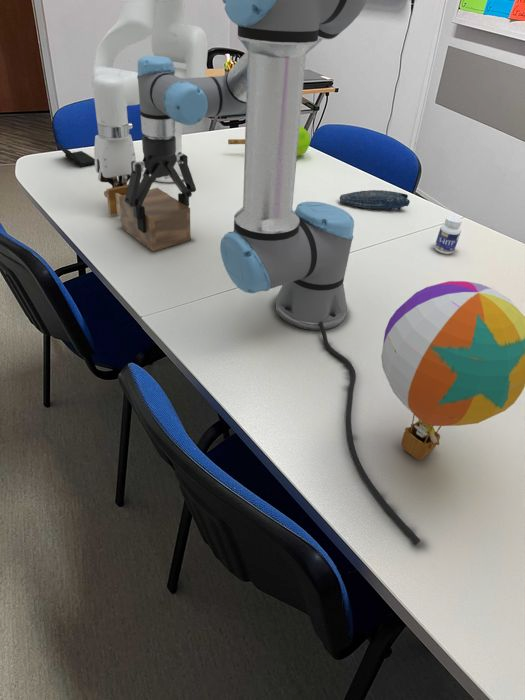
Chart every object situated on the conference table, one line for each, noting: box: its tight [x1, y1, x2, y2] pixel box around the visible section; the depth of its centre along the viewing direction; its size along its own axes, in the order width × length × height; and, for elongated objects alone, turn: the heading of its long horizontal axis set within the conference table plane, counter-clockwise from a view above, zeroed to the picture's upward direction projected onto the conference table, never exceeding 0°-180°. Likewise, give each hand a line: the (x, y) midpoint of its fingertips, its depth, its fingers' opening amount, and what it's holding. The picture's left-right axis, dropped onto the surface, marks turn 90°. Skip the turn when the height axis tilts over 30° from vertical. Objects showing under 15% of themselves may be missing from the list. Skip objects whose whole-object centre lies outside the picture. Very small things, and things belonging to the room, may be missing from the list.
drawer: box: [103, 184, 140, 218], centre depth 139 cm, size 19×10×7 cm, turn 41°
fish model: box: [339, 189, 411, 211], centre depth 158 cm, size 7×21×5 cm, turn 84°
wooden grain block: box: [119, 187, 191, 252], centre depth 132 cm, size 15×11×9 cm
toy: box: [380, 280, 525, 461], centre depth 74 cm, size 20×20×30 cm
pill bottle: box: [434, 215, 463, 255], centre depth 137 cm, size 5×5×9 cm
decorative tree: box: [227, 125, 311, 157], centre depth 186 cm, size 18×10×30 cm
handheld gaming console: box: [53, 140, 95, 167], centre depth 169 cm, size 12×7×10 cm
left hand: (119, 199), depth 143 cm, fingers closed
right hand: (162, 225), depth 130 cm, fingers closed on wooden grain block, 11 cm apart
